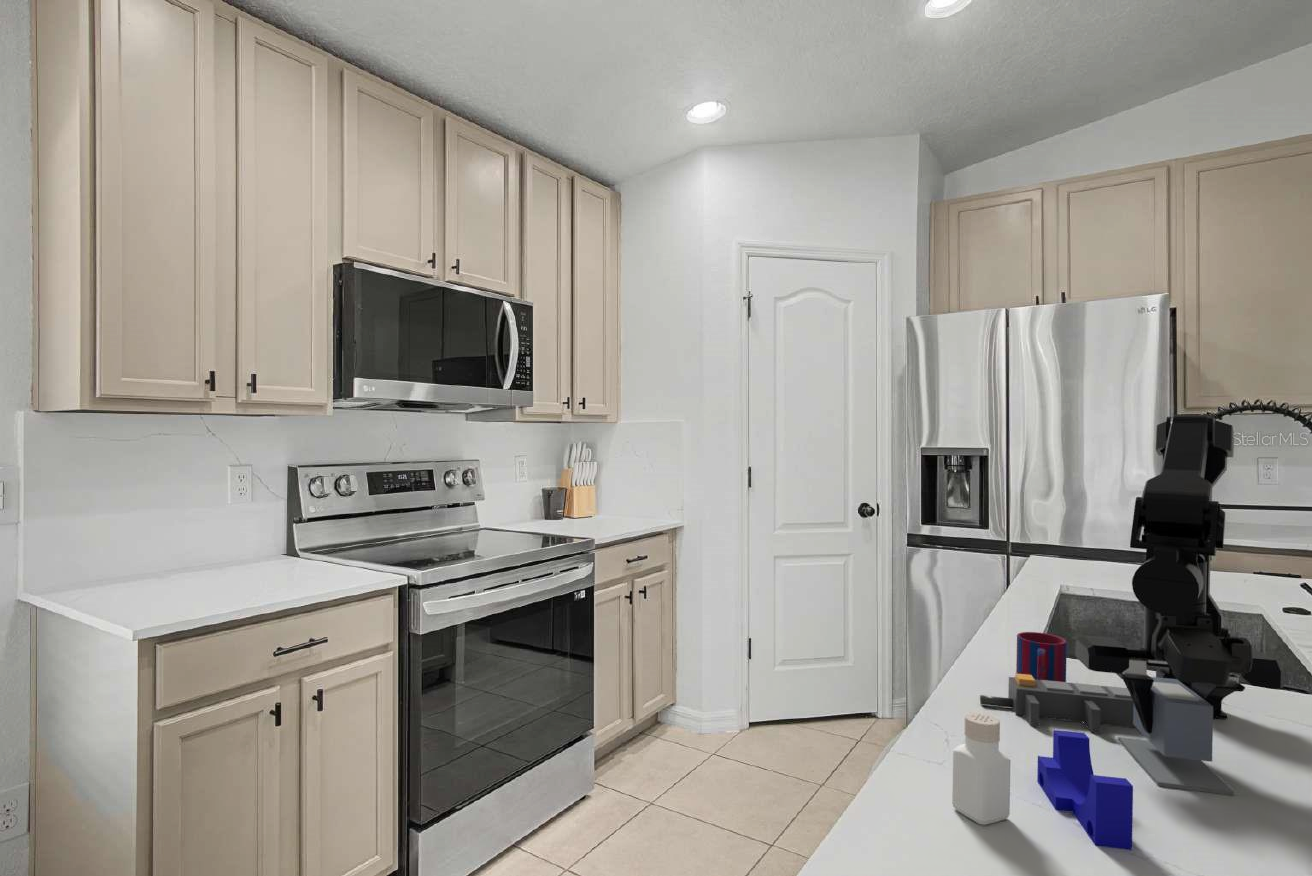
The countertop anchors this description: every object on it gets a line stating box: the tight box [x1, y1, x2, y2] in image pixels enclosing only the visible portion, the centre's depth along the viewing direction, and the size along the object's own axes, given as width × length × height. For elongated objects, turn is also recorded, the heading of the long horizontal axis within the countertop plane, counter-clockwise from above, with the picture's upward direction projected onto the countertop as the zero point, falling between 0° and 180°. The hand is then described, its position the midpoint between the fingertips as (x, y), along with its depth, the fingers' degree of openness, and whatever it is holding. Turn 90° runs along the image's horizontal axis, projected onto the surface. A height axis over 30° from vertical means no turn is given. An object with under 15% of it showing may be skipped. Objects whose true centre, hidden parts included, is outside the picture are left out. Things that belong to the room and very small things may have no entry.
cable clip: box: [1036, 729, 1134, 851], centre depth 71 cm, size 12×4×6 cm, turn 168°
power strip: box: [979, 672, 1137, 735], centre depth 95 cm, size 20×8×4 cm, turn 75°
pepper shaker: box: [951, 711, 1012, 826], centre depth 70 cm, size 4×4×10 cm
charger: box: [1133, 676, 1214, 762], centre depth 82 cm, size 4×9×6 cm, turn 165°
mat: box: [1117, 736, 1236, 796], centre depth 82 cm, size 7×12×1 cm, turn 165°
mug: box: [1015, 631, 1068, 682], centre depth 108 cm, size 7×10×7 cm
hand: (1172, 734), depth 82 cm, fingers closed on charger, 4 cm apart
